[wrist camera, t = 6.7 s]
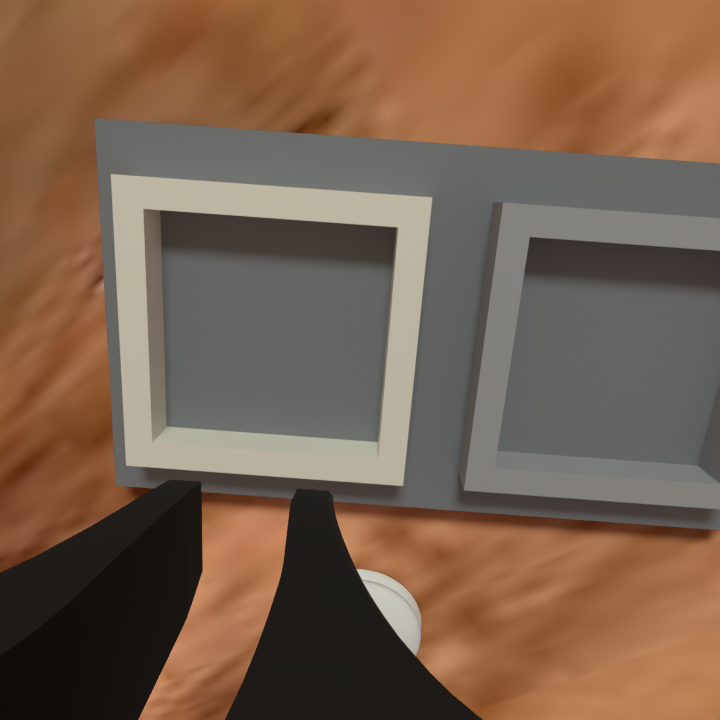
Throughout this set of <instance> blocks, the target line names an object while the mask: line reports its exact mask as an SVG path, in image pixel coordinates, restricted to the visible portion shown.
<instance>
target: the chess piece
mask: <svg viewBox="0 0 720 720" xmlns="http://www.w3.org/2000/svg"><path fill="white" fill-rule="evenodd" d="M357 571H358V573H359V575H360V577H361V579H362V581H363V583H364V585H365V586H366V588H367V590H368V592H369V593H370V595H371V597H372V598H373V600H374V602H375V603H376V605H377V606H378V608H379V609H380V611H381V612H382V614H383V615H384V617H385V618H386V620H387V621H388V622H389V624H390V625H391V626H392V628H393V629H394V631H395V632H396V633H397V635H398V636H399V637H400V639H401V640H402V641H403V642H404V643H405V644H406V646H407V647H408V648H409V649H410V650H411V651H412V652H413V654H414V655H415V656H416V655H417V652H418V649H419V646H420V640H421V615H420V611H419V608H418V605H417V603H416V601H415V600H414V598H413V597H412V595H411V594H410V593H409V591H408V590H407V589H406V588H405V587H403V586H402V585H401V584H400V583H398V582H397V581H395V580H394V579H392V578H390V577H388V576H386V575H384V574H381V573H378V572H375V571H370V570H364V569H357Z"/></svg>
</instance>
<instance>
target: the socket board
mask: <svg viewBox="0 0 720 720" xmlns="http://www.w3.org/2000/svg"><path fill="white" fill-rule="evenodd" d="M94 119H95V136H96V153H97V170H98V187H99V204H100V221H101V238H102V255H103V272H104V288H105V305H106V322H107V339H108V356H109V373H110V390H111V407H112V424H113V441H114V458H115V475H116V486H128V487H142V488H156V487H157V486H159V485H161V484H163V483H165V482H167V481H169V480H185V481H199V482H201V492H209V493H223V494H236V495H250V496H263V497H277V498H291V499H293V496H294V494H295V492H296V490H297V489H310V490H324V491H329V492H330V493H331V494H332V496H333V502H345V503H358V504H372V505H385V506H399V507H412V508H426V509H440V510H453V511H467V512H480V513H494V514H507V515H521V516H534V517H548V518H561V519H575V520H588V521H602V522H616V523H629V524H643V525H656V526H670V527H683V528H697V529H710V530H720V164H717V163H703V162H689V161H675V160H661V159H648V158H634V157H620V156H606V155H592V154H579V153H565V152H551V151H537V150H523V149H510V148H496V147H482V146H468V145H454V144H441V143H427V142H413V141H399V140H385V139H372V138H358V137H344V136H330V135H316V134H303V133H289V132H275V131H261V130H247V129H234V128H220V127H206V126H192V125H178V124H165V123H151V122H137V121H123V120H109V119H96V118H94Z"/></svg>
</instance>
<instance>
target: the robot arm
mask: <svg viewBox="0 0 720 720" xmlns="http://www.w3.org/2000/svg"><path fill="white" fill-rule="evenodd" d="M201 573H202V498H201V482H199V481H185V480H169V481H167V482H165V483H163V484H161V485H159V486H157V487H156V488H154V489H152V490H151V491H149V492H147V493H146V494H144V495H142V496H141V497H139V498H137V499H136V500H134V501H132V502H131V503H129V504H128V505H126V506H124V507H123V508H121V509H119V510H118V511H116V512H114V513H113V514H111V515H109V516H108V517H106V518H104V519H103V520H101V521H99V522H98V523H96V524H94V525H92V526H91V527H89V528H87V529H85V530H83V531H82V532H80V533H78V534H76V535H74V536H72V537H71V538H69V539H67V540H65V541H63V542H61V543H59V544H58V545H56V546H54V547H52V548H50V549H48V550H47V551H45V552H43V553H41V554H39V555H37V556H35V557H33V558H31V559H29V560H27V561H25V562H22V563H20V564H18V565H16V566H14V567H12V568H10V569H7V570H5V571H3V572H1V573H0V720H138V719H139V717H140V715H141V713H142V711H143V708H144V706H145V704H146V702H147V700H148V698H149V696H150V694H151V692H152V690H153V688H154V686H155V684H156V682H157V679H158V677H159V675H160V673H161V671H162V669H163V667H164V665H165V663H166V661H167V659H168V657H169V655H170V652H171V650H172V648H173V646H174V644H175V642H176V640H177V638H178V636H179V634H180V631H181V629H182V627H183V625H184V623H185V621H186V618H187V616H188V613H189V610H190V607H191V604H192V601H193V598H194V595H195V592H196V589H197V586H198V583H199V580H200V577H201ZM225 720H482V719H481V718H480V717H479V716H477V715H476V714H475V713H474V712H473V711H471V710H470V709H469V708H468V707H467V706H465V705H464V704H463V703H462V702H461V701H459V700H458V699H457V698H456V697H455V696H453V695H452V694H451V693H450V692H449V691H448V690H447V689H446V688H445V687H444V686H443V685H442V684H441V683H440V682H439V681H438V680H437V679H436V678H435V677H434V676H433V675H432V674H431V673H430V672H429V671H428V670H427V669H426V668H425V666H424V665H423V664H422V663H421V662H420V661H419V659H418V658H417V657H416V656H415V655H414V654H413V652H412V651H411V650H410V649H409V648H408V647H407V646H406V644H405V643H404V642H403V641H402V640H401V639H400V637H399V636H398V635H397V633H396V632H395V631H394V629H393V628H392V626H391V625H390V624H389V622H388V621H387V620H386V618H385V617H384V615H383V614H382V612H381V611H380V609H379V608H378V606H377V605H376V603H375V602H374V600H373V598H372V597H371V595H370V593H369V592H368V590H367V588H366V586H365V585H364V583H363V581H362V579H361V577H360V575H359V573H358V571H357V569H356V568H355V566H354V563H353V561H352V559H351V557H350V555H349V552H348V550H347V547H346V545H345V542H344V540H343V538H342V535H341V532H340V529H339V526H338V523H337V519H336V516H335V511H334V506H333V496H332V494H331V493H330V492H329V491H324V490H310V489H297V490H296V492H295V494H294V496H293V499H292V501H291V504H290V512H289V520H288V529H287V538H286V546H285V555H284V563H283V568H282V573H281V578H280V581H279V584H278V588H277V591H276V594H275V597H274V600H273V603H272V606H271V610H270V612H269V615H268V618H267V621H266V624H265V627H264V629H263V632H262V635H261V638H260V641H259V643H258V646H257V648H256V651H255V653H254V656H253V658H252V661H251V663H250V666H249V668H248V671H247V673H246V676H245V678H244V680H243V683H242V685H241V687H240V689H239V691H238V693H237V696H236V698H235V700H234V702H233V704H232V706H231V708H230V710H229V712H228V715H227V717H226V719H225Z"/></svg>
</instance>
